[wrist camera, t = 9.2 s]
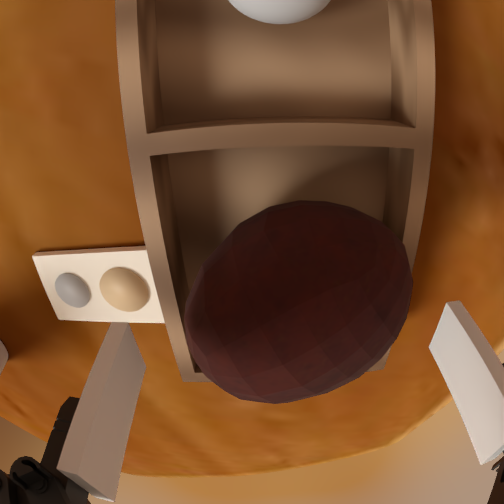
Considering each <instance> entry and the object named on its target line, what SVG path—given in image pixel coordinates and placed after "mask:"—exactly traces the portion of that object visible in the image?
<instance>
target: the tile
mask: <svg viewBox="0 0 504 504" xmlns="http://www.w3.org/2000/svg"><path fill="white" fill-rule="evenodd" d="M32 258H33V260H34V263H35V266H36V268H37V271H38V273H39V276H40V278H41V281H42V283H43V286H44V288H45V291H46V293H47V295H48V298H49V300H50V302H51V304H52V307H53V309H54V311H55V313H56V315H57V317H58V320H75V321H96V322H129V323H165V321H164V318H163V314H162V310H161V307H160V303H159V299H158V295H157V291H156V287H155V284H154V280H153V275H152V271H151V267H150V263H149V259H148V254H147V250H146V246H132V247H114V248H97V249H81V250H65V251H49V252H36V253H35V254H34V255H33V256H32Z"/></svg>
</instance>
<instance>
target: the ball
mask: <svg viewBox="0 0 504 504" xmlns="http://www.w3.org/2000/svg"><path fill="white" fill-rule="evenodd" d="M228 1H229V2H230V3H231V4H232V5H233V6H234V7H235V8H236V9H237V10H238V11H240V12H241V13H243V14H244V15H246V16H248V17H250V18H252V19H255V20H258V21H261V22H265V23H271V24H290V23H296V22H300V21H303V20H306V19H308V18H310V17H312V16H314V15H316V14H317V13H319V12H320V11H321V10H323V9H324V8H325V7H326V6H327V4H328V3H329V2H330V0H228Z"/></svg>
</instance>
